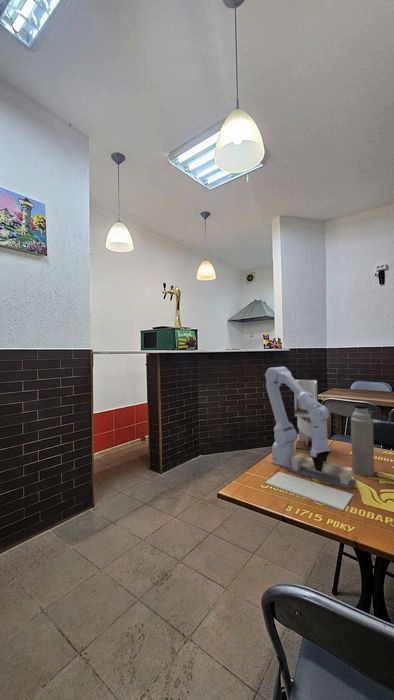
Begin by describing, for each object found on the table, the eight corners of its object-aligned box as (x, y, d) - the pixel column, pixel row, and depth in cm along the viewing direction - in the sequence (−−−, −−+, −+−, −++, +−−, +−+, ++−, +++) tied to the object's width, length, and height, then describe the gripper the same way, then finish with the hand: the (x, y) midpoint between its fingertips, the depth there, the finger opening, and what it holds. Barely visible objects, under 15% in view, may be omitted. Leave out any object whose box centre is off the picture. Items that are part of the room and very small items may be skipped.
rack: (288, 471, 119) (287, 460, 119) (295, 465, 125) (295, 455, 125) (350, 489, 102) (349, 477, 102) (355, 481, 108) (355, 470, 108)
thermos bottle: (374, 470, 117) (372, 404, 117) (374, 478, 111) (372, 408, 111) (352, 466, 122) (351, 402, 122) (351, 473, 115) (349, 406, 115)
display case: (297, 444, 151) (295, 379, 151) (318, 446, 147) (316, 380, 147) (295, 451, 141) (294, 382, 141) (318, 454, 137) (316, 383, 137)
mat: (265, 483, 108) (264, 482, 108) (279, 473, 117) (279, 471, 117) (343, 511, 89) (343, 509, 89) (353, 496, 98) (353, 494, 98)
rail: (291, 462, 120) (291, 455, 120) (294, 460, 122) (294, 453, 122) (350, 478, 104) (350, 470, 104) (352, 476, 107) (352, 468, 107)
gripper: (323, 442, 105) (324, 478, 105) (335, 433, 116) (336, 466, 116) (305, 439, 110) (305, 473, 110) (318, 430, 121) (318, 461, 121)
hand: (320, 469), depth 113 cm, fingers closed on rail, 3 cm apart
